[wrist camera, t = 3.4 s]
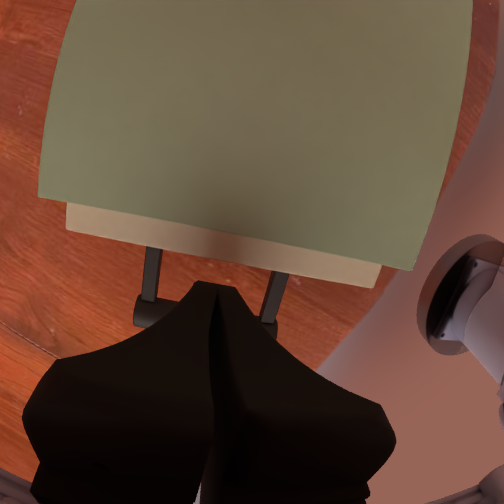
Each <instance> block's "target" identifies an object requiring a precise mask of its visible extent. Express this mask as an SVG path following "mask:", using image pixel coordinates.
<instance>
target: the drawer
mask: <svg viewBox="0 0 504 504" xmlns="http://www.w3.org/2000/svg"><path fill="white" fill-rule="evenodd" d="M66 229H67V230H71V231H76V232H81V233H85V234H90V235H95V236H100V237H105V238H110V239H115V240H119V241H124V242H129V243H134V244H139V245H144V246H146V253H145V262H144V272H143V282H142V293H141V294H139V295H138V297H137V300H136V303H135V307H134V313H133V324H134V326H137V327H141V328H148V327H149V326H151V325H152V324H154V323H155V322H157V321H158V320H159V319H161V318H162V317H163V316H164V315H165V314H166V313H168V312H169V311H170V310H171V309H172V308H173V307H174V306H176V305H177V304H178V302H177V301H172V300H167V299H162V298H157V293H158V284H159V276H160V268H161V260H162V253H163V249H164V250H169V251H174V252H180V253H185V254H190V255H195V256H200V257H205V258H210V259H215V260H221V261H226V262H231V263H236V264H242V265H247V266H252V267H257V268H263V269H268V270H272V272H271V276H270V279H269V283H268V286H267V290H266V293H265V297H264V300H263V304H262V307H261V310H260V314H259V315H260V316H256V315H254V316H255V317H256V318H257V319H258V321H259V322H260V323H261V324H262V326H263V327H264V328H265V329H266V330H267V331H268V332H269V333H270V335H271V336H272V337H273V338H274V339H275V340H276V338H277V331H278V324H277V320H276V319H275V318H276V315H277V312H278V309H279V306H280V303H281V299H282V296H283V293H284V290H285V287H286V283H287V280H288V277H289V274H295V275H300V276H306V277H311V278H317V279H322V280H328V281H333V282H339V283H344V284H350V285H356V286H361V287H367V288H373V287H374V285H375V282H376V280H377V277H378V275H379V272H380V269H381V267H382V265H380V264H375V263H371V262H366V261H361V260H357V259H352V258H347V257H343V256H338V255H333V254H328V253H324V252H319V251H314V250H309V249H304V248H300V247H295V246H290V245H285V244H280V243H275V242H270V241H265V240H261V239H256V238H251V237H246V236H241V235H236V234H231V233H226V232H221V231H216V230H211V229H206V228H200V227H195V226H190V225H185V224H180V223H175V222H170V221H165V220H159V219H154V218H149V217H144V216H138V215H133V214H128V213H123V212H117V211H112V210H107V209H101V208H96V207H90V206H85V205H80V204H74V203H69V202H67V211H66Z"/></svg>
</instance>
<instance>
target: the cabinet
mask: <svg viewBox="0 0 504 504" xmlns="http://www.w3.org/2000/svg"><path fill="white" fill-rule="evenodd" d="M472 7H473V0H77V1H76V3H75V6H74V9H73V12H72V15H71V18H70V21H69V24H68V27H67V30H66V33H65V36H64V40H63V43H62V47H61V50H60V54H59V58H58V62H57V66H56V70H55V74H54V78H53V83H52V88H51V92H50V97H49V103H48V108H47V114H46V120H45V126H44V133H43V141H42V149H41V158H40V169H39V181H38V197H41V198H46V199H52V200H58V201H63V202H69V203H74V204H80V205H85V206H90V207H96V208H101V209H107V210H112V211H117V212H123V213H128V214H133V215H138V216H144V217H149V218H154V219H159V220H165V221H170V222H175V223H180V224H185V225H190V226H195V227H200V228H206V229H211V230H216V231H221V232H226V233H231V234H236V235H241V236H246V237H251V238H256V239H261V240H265V241H270V242H275V243H280V244H285V245H290V246H295V247H300V248H304V249H309V250H314V251H319V252H324V253H328V254H333V255H338V256H343V257H347V258H352V259H357V260H361V261H366V262H371V263H375V264H380V265H385V266H389V267H394V268H398V269H403V270H408V271H412V270H413V267H414V265H415V262H416V260H417V257H418V254H419V252H420V249H421V247H422V244H423V241H424V238H425V236H426V233H427V230H428V227H429V224H430V221H431V218H432V215H433V212H434V209H435V206H436V203H437V200H438V196H439V193H440V190H441V186H442V183H443V179H444V176H445V172H446V169H447V165H448V161H449V157H450V153H451V149H452V145H453V141H454V136H455V132H456V128H457V123H458V118H459V113H460V108H461V103H462V97H463V91H464V85H465V79H466V72H467V64H468V56H469V47H470V37H471V25H472Z"/></svg>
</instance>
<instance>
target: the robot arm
mask: <svg viewBox="0 0 504 504" xmlns="http://www.w3.org/2000/svg"><path fill="white" fill-rule="evenodd" d="M474 263H475V264H474ZM433 337H434V338H435V339H440V340H456V341H461V342H462V343H463V344H464V345H465V346H466V347H467V348H468V350H469V351H470V352H471V353H472V354H473V355H474V356H475V357H476V359H477V360H478V361H479V362H480V363H481V364H482V365H483V367H484V368H485V369H486V370H487V371H488V372H489V373H490V375H491V376H492V377H493V378H494V380H495V381H496V382H497V383H498V385H499V386H500V387H501V388H500V390H499V391H498V393H497V395H498V397H499V398H500V399H501V400H502V402H503V403H502V404H501V405H500V407H499V417H500V424H501V427H502V429H503V431H504V267H503V266H500V265H496V264H493V263H490V262H487V261H484V260H481V259H478V258H474V257H469V258H468V259H467V261H466V263H465V266H464V268H463V271H462V273H461V275H460V278H459V280H458V282H457V285H456V287H455V289H454V292H453V294H452V296H451V298H450V300H449V302H448V305H447V307H446V309H445V311H444V313H443V315H442V317H441V319H440V321H439V323H438V325H437V327H436V329H435V331H434V333H433ZM22 421H23V425H24V429H25V431H26V434H27V436H28V438H29V440H30V442H31V445H32V447H33V449H34V451H35V453H36V455H37V457H38V459H39V461H40V464H39V466H38V469H37V472H36V474H35V477H34V480H33V482H32V483H31V482H29V481H27V480H25V479H22V478H20V477H18V476H16V475H14V474H12V473H9V472H7V471H5V470H3V469H1V468H0V504H193V502H195V500H196V497H197V493H198V490H199V486H200V483H201V491H200V504H366V501H365V499H367V498H368V497H369V496H370V490H369V487H368V485H367V481H368V480H369V479H370V478H371V477H372V476H373V475H374V474H375V473H376V472H377V471H378V470H379V469H380V468H381V467H382V466H383V465H384V463H385V462H386V461H387V460H388V458H389V457H390V455H391V454H392V452H393V451H394V448H395V445H396V437H395V433H394V431H393V429H392V427H391V425H390V423H389V421H388V419H387V417H386V414H385V412H384V410H383V408H382V407H381V405H380V404H378V403H375V402H373V401H370V400H368V399H366V398H363V397H361V396H359V395H356V394H354V393H352V392H349V391H347V390H345V389H343V388H342V387H340V386H338V385H336V384H334V383H332V382H331V381H328V380H327V379H325V378H324V377H322V376H321V375H319V374H317V373H316V372H314V371H313V370H312V369H310V368H309V367H307V366H306V365H304V364H303V363H302V362H300V361H299V360H298V359H296V358H295V357H294V356H293V355H292V354H290V353H289V352H288V351H287V350H286V349H285V348H284V347H283V346H281V345H280V344H279V343H278V342H277V341H276V340H275V339H274V338H273V337H272V336H271V335H270V333H269V332H268V331H267V330H266V329H265V328H264V327H263V326H262V324H261V323H260V322H259V321H258V319H257V318H256V317H255V316H254V314H253V313H252V312H251V310H250V309H249V307H248V306H247V304H246V303H245V301H244V300H243V298H242V297H241V295H240V294H239V292H238V291H237V289H236V288H235V287H231V286H226V285H220V284H215V283H209V282H204V281H199V280H198V281H196V282H195V283H194V284H193V286H192V288H191V289H190V290H189V292H188V293H187V294H186V295H185V296H184V297H183V298H182V299H181V300H180V301H179V302H178V304H177V305H176V306H174V307H173V308H172V309H171V310H170V311H169V312H168V313H166V314H165V315H164V316H163V317H162V318H161V319H159V320H158V321H157V322H155V323H154V324H152V325H151V326H149V327H148V328H146V329H145V330H143V331H141V332H140V333H138V334H136V335H134V336H132V337H130V338H128V339H126V340H124V341H122V342H119V343H117V344H114V345H112V346H109V347H106V348H103V349H100V350H97V351H94V352H90V353H86V354H81V355H77V356H72V357H68V358H63V359H57V360H55V362H54V363H53V365H52V366H51V367H50V368H49V369H48V371H47V372H46V373H45V374H44V376H43V377H42V378H41V380H40V381H39V383H38V384H37V386H36V388H35V390H34V391H33V393H32V395H31V397H30V399H29V400H28V402H27V404H26V406H25V408H24V410H23V415H22ZM426 504H504V465H502V466H499V467H497V468H496V469H494V470H493V471H491V472H490V473H489V474H488V475H487V476H486V477H485V478H483V480H481V481H480V482H479V484H478V485H476V486H473V487H471V488H468V489H466V490H463V491H461V492H458V493H455V494H453V495H450V496H447V497H444V498H441V499H438V500H435V501H432V502H429V503H426Z"/></svg>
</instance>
